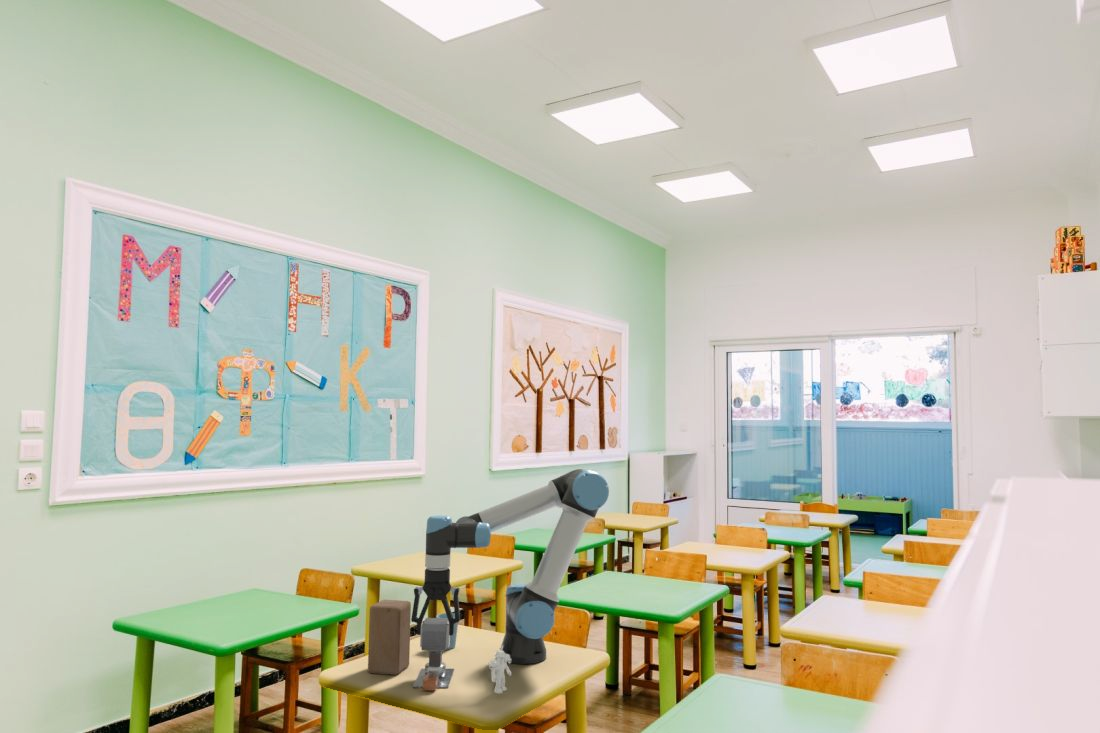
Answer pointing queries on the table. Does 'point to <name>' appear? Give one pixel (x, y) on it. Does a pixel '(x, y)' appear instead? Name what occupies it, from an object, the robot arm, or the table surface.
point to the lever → (434, 673)
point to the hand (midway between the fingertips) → (434, 645)
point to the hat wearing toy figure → (499, 669)
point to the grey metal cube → (434, 633)
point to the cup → (453, 637)
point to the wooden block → (389, 637)
